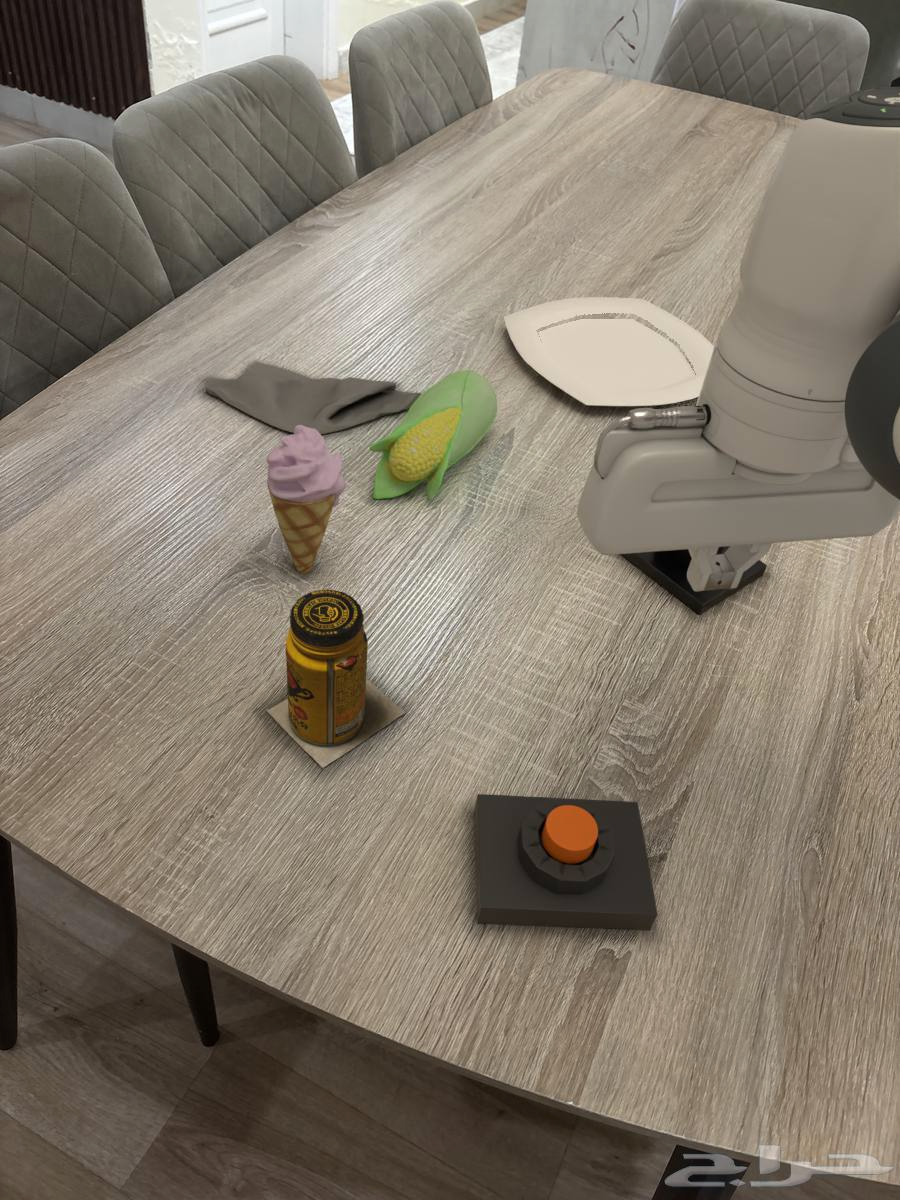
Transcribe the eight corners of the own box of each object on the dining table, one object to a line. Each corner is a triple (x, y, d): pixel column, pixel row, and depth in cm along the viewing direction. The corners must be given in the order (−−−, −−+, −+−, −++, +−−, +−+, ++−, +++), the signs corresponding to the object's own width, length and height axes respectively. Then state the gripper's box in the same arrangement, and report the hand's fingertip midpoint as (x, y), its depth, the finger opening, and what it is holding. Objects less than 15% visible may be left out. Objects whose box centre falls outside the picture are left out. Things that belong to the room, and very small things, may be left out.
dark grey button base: (631, 818, 71) (643, 787, 68) (649, 930, 65) (664, 901, 62) (473, 810, 70) (480, 779, 68) (477, 923, 64) (484, 894, 61)
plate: (576, 433, 109) (579, 419, 107) (476, 322, 126) (478, 309, 124) (759, 399, 118) (764, 385, 117) (644, 300, 135) (647, 288, 134)
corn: (528, 397, 104) (444, 491, 91) (484, 433, 110) (399, 526, 97) (478, 340, 102) (386, 428, 89) (436, 379, 108) (344, 467, 95)
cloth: (183, 417, 103) (181, 400, 102) (224, 356, 113) (223, 339, 112) (416, 457, 102) (417, 439, 101) (436, 392, 112) (438, 375, 111)
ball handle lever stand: (763, 575, 93) (809, 471, 85) (699, 615, 88) (741, 508, 79) (672, 511, 100) (706, 408, 91) (607, 545, 94) (637, 439, 86)
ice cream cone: (334, 543, 91) (337, 410, 80) (350, 586, 87) (355, 451, 76) (265, 552, 89) (258, 417, 78) (278, 597, 85) (273, 460, 74)
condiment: (266, 712, 75) (259, 605, 67) (348, 663, 80) (351, 557, 72) (322, 770, 72) (322, 664, 63) (405, 715, 76) (415, 610, 68)
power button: (589, 819, 67) (594, 805, 65) (596, 865, 64) (601, 851, 63) (539, 817, 66) (543, 803, 65) (543, 863, 64) (548, 849, 62)
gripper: (625, 444, 49) (576, 630, 58) (965, 428, 53) (868, 604, 62) (588, 380, 53) (548, 563, 62) (905, 370, 57) (822, 543, 67)
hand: (710, 583), depth 62 cm, fingers closed
